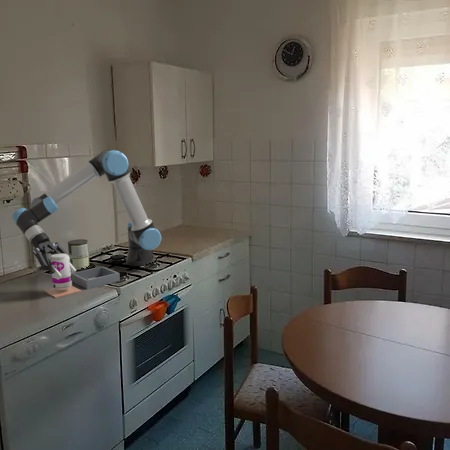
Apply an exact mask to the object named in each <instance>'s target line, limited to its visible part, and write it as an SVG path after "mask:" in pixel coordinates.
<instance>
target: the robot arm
mask: <svg viewBox="0 0 450 450" xmlns="http://www.w3.org/2000/svg"><path fill="white" fill-rule="evenodd" d="M130 174H131V171H130V168H129V160H128V158H127V156H126V155H125V154H124V153H123V152H121V151H119V150H116V149H113V150H110V149H105V150H102V151H101V152H100V153H98V154H97V155H95V156H94V157H93V158H91V159H90V160H88V161H87V163H86V165H85V166H83V167H82V168H80V169H79V170H78V171H76V172H75V173H72V174H71V175H70V176H69V177H66V178H65V179H64V180H62V181H61V182H59V183H58V184H56V185H54V186H53V187H52V188H50V189H49V190H48V191H46V192H44V193H43V194H41V195H40V196H38V197H34V198H33V199H32V200H31V203H30V205H31V207H30V208H28V209H27V208H25V207H20V208H18V209H16V210H15V211H14V212H13V213H12V216H11V217H12V220H13V222H14V224H16V226H17V227H18V229H19V230H20V231H21V232H22V233H23V235H24V236H25V238H27V240H28V241H29V242H30V244H31V245H32V247H33V250H32V252H31V253H32V254H33V255H34V256H35V258H36V259H37V261H38V263H39V265H40V267H41V268H42V269H43V270H44V269H45V270H46V271H49V273H50V274H51V275H52V274H53V275H54V276H55V277H56V279H57V280H59V279H60V278H61V276H62V275H61V274H60V273H59V272H58V270H57V269H56V268H55V266H54V265H51V262H50V259H51V258H50V256H49V254H50V255H51V256H52V255H54V254H60V253H66V254H68V256H69V257H70V258H71V256H70V255H69V252H67V251H66V250H65V249H64V248H63V247H62V246H61V245H60V243H59V242H58V241H55V243H53V242H52V241H51V240H50V237H49V236H48V234H46V233H45V231H44V230H43V228H42V227H41V226H40V225H39V223H41V222H42V221H44V220H45V219H46V218H48V217H49V216H51V215H53V214H55V213H56V211H58V210H59V206H58V205H57V204H60V202H62V201H63V200H65V199H67V198H68V197H69V196H70V195H72V194H74V193H75V192H76V191H78V190H80V189H81V188H82V187H84V186H85V185H87V184H88V183H90V182H91V181H93V180H95V179H96V178H97V179H100V178H101V177H102V176H104V175H105V176H106V179H107V180H108V183H112V184H113V185H114V186H113V187H114V188H115V190H116V192H117V196H118V197H119V200H120V201H121V203H122V206H123V208H124V210H125V212H126V214H127V216H128V219H129V221H130V222H128V223H127V239H128V242H127V243H128V252H127V256H126V259H125V260H126V261H125V262H126V265H129V266H133V267H134V266H135V267H136V266H137V267H138V266H147V265H146V264H148V265H150V264H149V263H151V264H153V263H154V262H155V256H154V253H153V250H155V249H157V248H158V247H159V246H160V244H161V242H162V235H161V232H160V230H158V229H157V228H156V226H155V223H154V221H153V220H152V219H150V218H148V216H147V213H146V211H145V209H144V207H143V205H142V202H141V200H140V197H139V196H138V193H137V190H136V189H135V187H134V184H133V181H132V180H131V177H130ZM152 262H153V263H152ZM70 268H71V273H72V274H74V273H75V272H77V269H75V268H74V267H73V265H72V263H71V262H70Z"/></svg>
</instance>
